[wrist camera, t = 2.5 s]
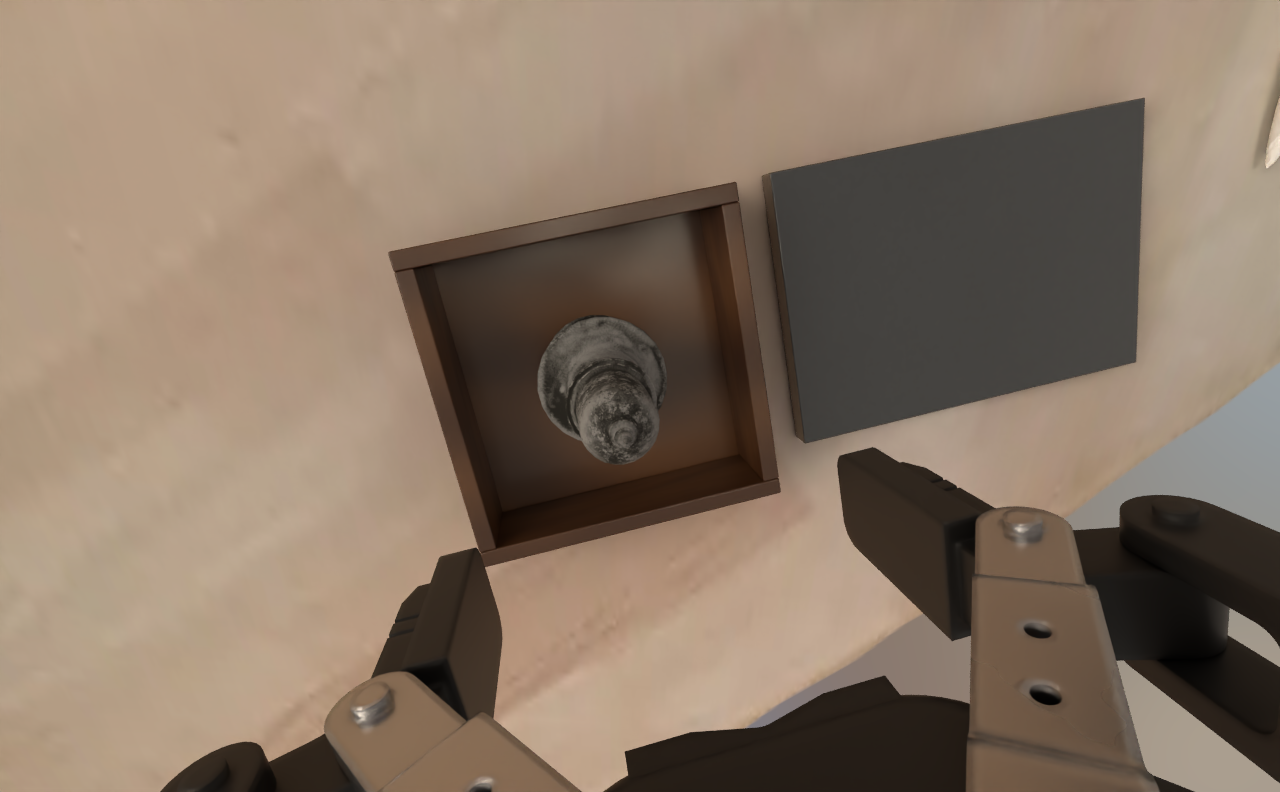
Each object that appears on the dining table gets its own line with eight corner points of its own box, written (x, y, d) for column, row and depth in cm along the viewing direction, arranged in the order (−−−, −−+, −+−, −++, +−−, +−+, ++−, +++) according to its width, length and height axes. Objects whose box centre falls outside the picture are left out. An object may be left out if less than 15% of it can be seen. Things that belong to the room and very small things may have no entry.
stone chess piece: (672, 336, 30) (747, 392, 19) (625, 438, 31) (670, 550, 20) (565, 289, 29) (576, 318, 18) (520, 397, 30) (502, 492, 19)
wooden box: (411, 250, 28) (387, 251, 24) (709, 190, 29) (736, 181, 25) (492, 525, 32) (484, 568, 28) (752, 461, 33) (781, 493, 29)
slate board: (761, 175, 30) (770, 172, 28) (1123, 102, 31) (1145, 97, 30) (796, 436, 33) (805, 443, 32) (1117, 358, 35) (1136, 362, 34)
